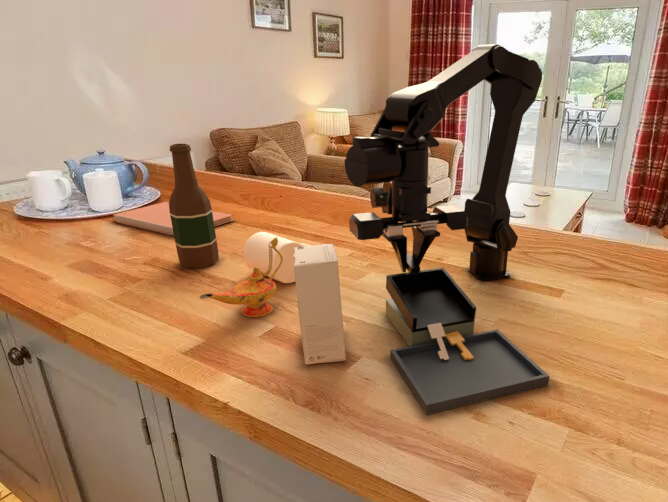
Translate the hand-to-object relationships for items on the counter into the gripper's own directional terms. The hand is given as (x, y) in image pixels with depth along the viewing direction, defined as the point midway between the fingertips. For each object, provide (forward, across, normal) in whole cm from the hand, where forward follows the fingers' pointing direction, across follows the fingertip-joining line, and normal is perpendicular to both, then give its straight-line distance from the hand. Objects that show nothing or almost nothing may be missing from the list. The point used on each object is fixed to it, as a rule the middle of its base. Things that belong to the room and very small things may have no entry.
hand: (409, 270), depth 83 cm
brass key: (+5, -1, +17) cm, 18 cm away
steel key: (+4, +2, +17) cm, 17 cm away
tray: (+6, 0, +22) cm, 23 cm away
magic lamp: (+6, +26, -6) cm, 27 cm away
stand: (+6, 0, +8) cm, 10 cm away
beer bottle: (+6, +34, -34) cm, 48 cm away
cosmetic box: (+7, +17, +9) cm, 20 cm away
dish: (+2, 0, +6) cm, 6 cm away
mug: (+6, +18, -22) cm, 29 cm away
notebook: (+6, +41, -68) cm, 79 cm away
